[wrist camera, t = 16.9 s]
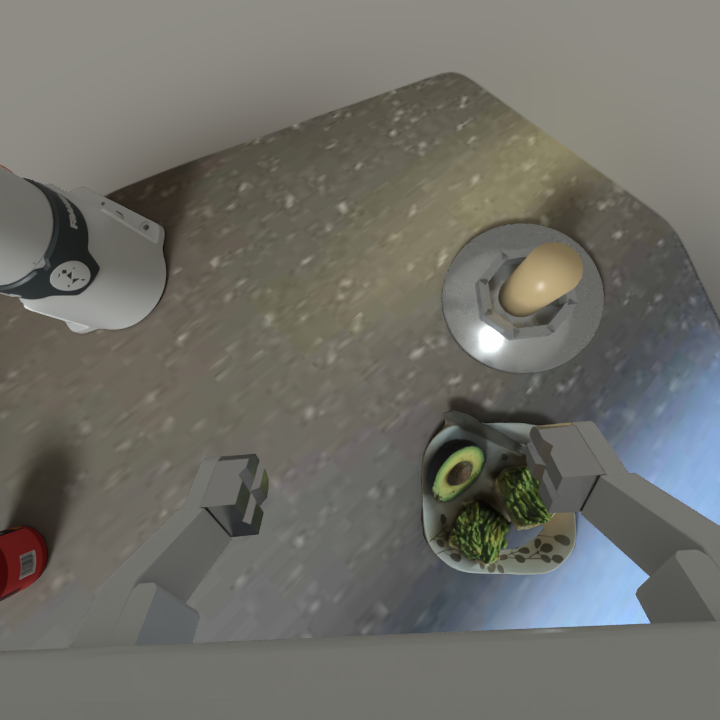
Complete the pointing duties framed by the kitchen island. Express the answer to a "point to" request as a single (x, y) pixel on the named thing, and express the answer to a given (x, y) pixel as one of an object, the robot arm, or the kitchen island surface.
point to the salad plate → (488, 500)
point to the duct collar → (509, 333)
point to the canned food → (20, 559)
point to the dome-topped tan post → (541, 279)
